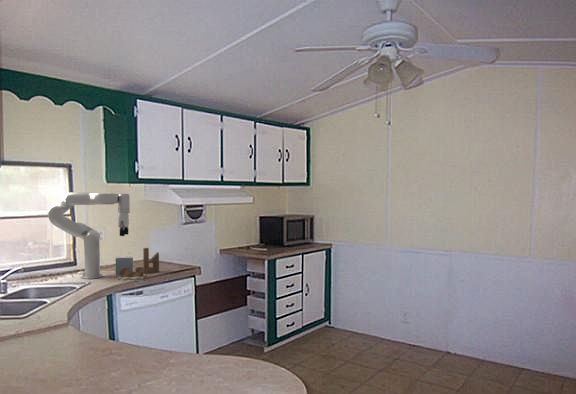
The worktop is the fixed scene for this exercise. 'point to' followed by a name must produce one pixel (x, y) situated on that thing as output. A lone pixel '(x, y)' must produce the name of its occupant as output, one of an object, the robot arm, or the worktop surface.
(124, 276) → the slotted base
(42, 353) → the worktop surface
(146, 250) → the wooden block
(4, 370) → the worktop surface
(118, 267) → the slotted plate
